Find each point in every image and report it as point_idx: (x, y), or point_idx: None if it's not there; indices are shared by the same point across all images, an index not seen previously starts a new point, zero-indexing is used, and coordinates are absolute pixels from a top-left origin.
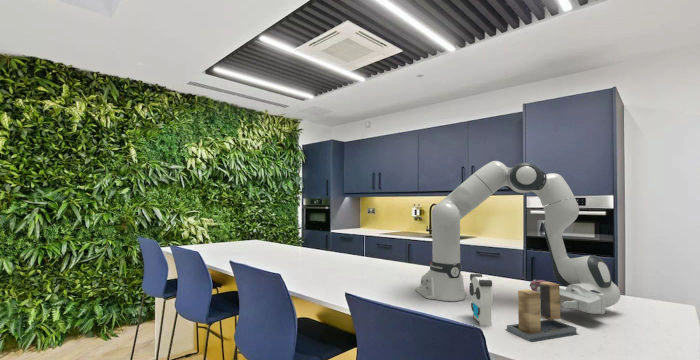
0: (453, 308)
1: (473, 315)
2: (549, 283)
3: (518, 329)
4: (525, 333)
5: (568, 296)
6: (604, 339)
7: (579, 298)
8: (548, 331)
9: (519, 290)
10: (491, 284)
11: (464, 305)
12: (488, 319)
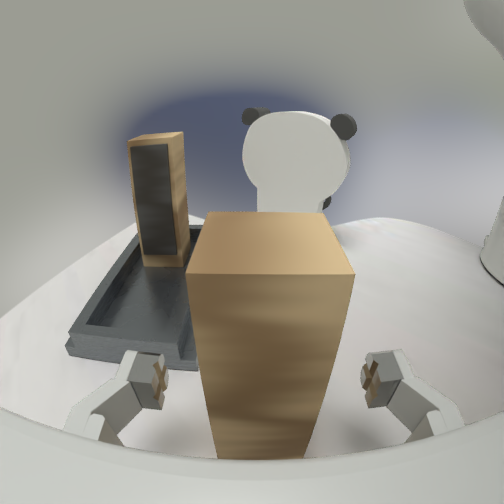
0: (424, 248)
1: None
2: (270, 237)
3: None
4: None
5: (158, 456)
6: (9, 402)
7: (48, 449)
8: (122, 258)
9: (179, 132)
10: (243, 118)
11: (459, 274)
12: None
